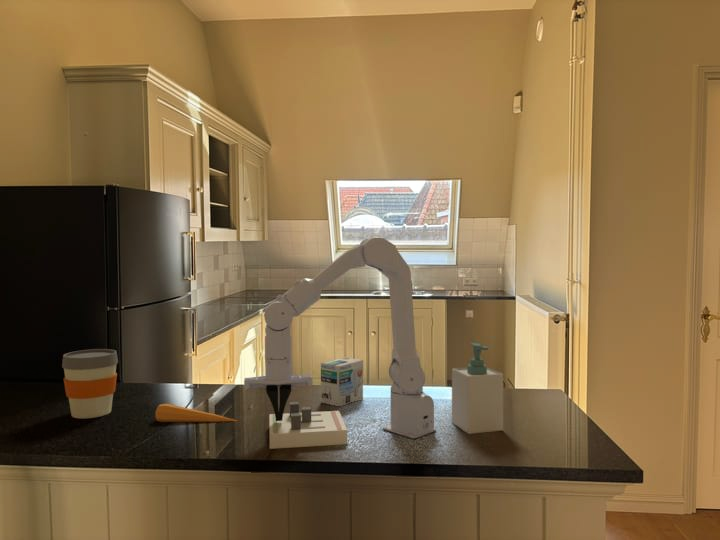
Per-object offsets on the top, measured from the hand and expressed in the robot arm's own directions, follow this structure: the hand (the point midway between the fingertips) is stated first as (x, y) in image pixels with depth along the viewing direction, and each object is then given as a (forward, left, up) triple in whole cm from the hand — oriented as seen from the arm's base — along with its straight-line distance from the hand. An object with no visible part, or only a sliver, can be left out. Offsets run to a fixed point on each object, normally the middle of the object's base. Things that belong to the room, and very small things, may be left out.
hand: (279, 419), depth 120 cm
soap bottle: (-26, -36, -4) cm, 45 cm away
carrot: (+23, +7, -4) cm, 25 cm away
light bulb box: (+12, -29, -4) cm, 32 cm away
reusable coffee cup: (+48, +23, -4) cm, 53 cm away
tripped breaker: (-3, -5, 0) cm, 6 cm away
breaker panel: (-3, -5, -4) cm, 7 cm away
